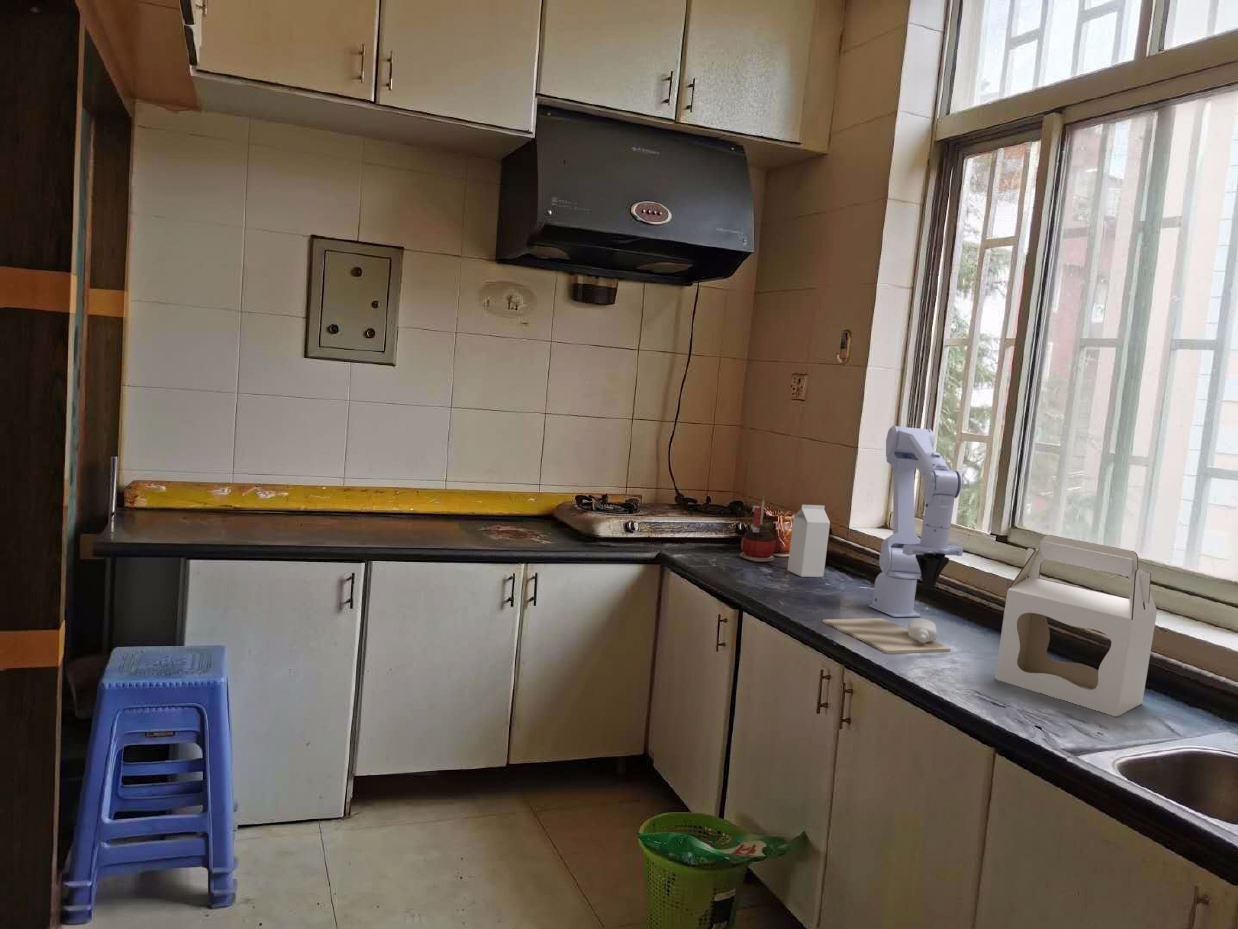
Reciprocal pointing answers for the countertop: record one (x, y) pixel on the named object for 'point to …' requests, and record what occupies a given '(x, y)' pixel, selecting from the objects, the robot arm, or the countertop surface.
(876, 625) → the birch board
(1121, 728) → the countertop surface
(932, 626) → the eye dropper bottle
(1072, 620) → the gable box
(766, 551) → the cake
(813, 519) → the milk carton
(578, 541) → the countertop surface
